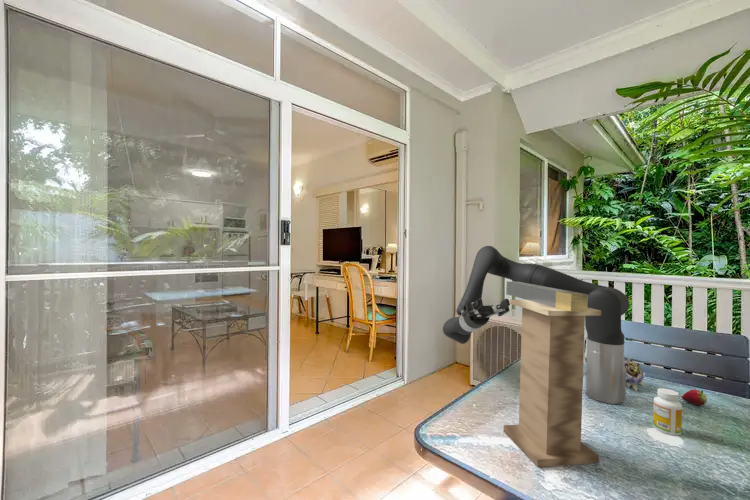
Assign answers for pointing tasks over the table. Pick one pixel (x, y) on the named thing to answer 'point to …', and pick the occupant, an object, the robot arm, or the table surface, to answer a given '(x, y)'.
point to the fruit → (695, 397)
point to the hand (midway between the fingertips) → (494, 301)
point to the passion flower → (633, 374)
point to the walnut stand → (551, 386)
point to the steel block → (549, 296)
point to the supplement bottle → (667, 412)
